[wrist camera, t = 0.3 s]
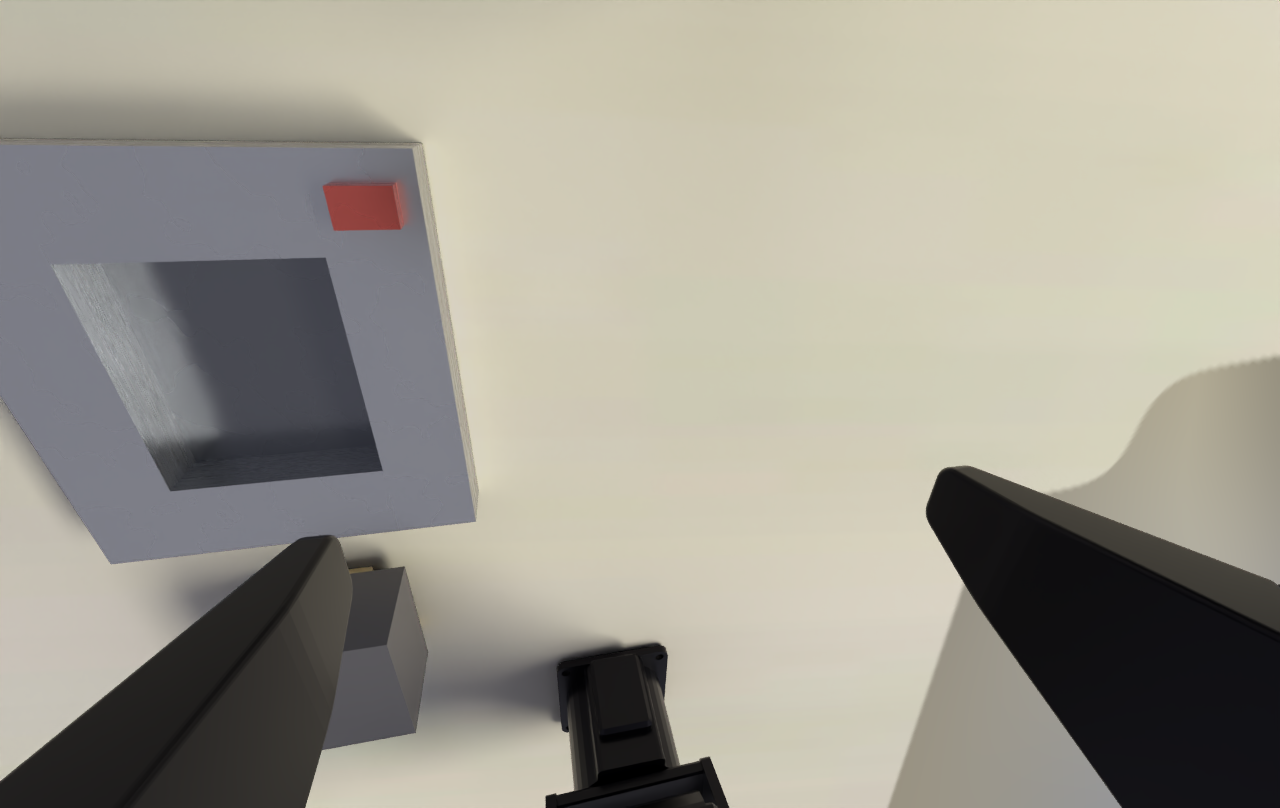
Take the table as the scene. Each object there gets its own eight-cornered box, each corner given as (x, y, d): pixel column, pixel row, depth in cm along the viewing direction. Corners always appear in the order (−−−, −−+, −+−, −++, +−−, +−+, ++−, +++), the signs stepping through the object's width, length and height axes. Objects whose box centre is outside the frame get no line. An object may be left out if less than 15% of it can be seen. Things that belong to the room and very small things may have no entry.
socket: (478, 491, 24) (474, 531, 22) (142, 526, 21) (100, 576, 19) (422, 143, 17) (408, 150, 15) (-86, 137, 14) (-194, 144, 12)
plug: (430, 634, 28) (415, 732, 23) (325, 650, 27) (290, 756, 22) (408, 550, 25) (386, 645, 20) (289, 565, 24) (240, 667, 19)
